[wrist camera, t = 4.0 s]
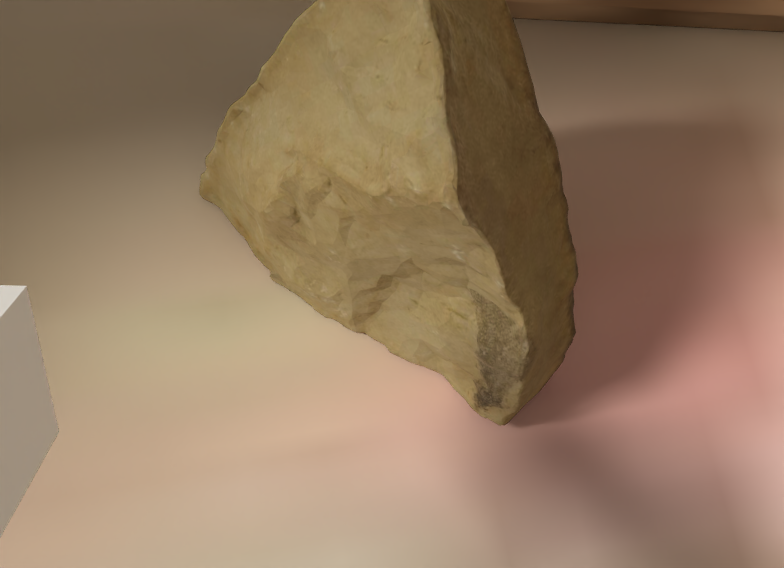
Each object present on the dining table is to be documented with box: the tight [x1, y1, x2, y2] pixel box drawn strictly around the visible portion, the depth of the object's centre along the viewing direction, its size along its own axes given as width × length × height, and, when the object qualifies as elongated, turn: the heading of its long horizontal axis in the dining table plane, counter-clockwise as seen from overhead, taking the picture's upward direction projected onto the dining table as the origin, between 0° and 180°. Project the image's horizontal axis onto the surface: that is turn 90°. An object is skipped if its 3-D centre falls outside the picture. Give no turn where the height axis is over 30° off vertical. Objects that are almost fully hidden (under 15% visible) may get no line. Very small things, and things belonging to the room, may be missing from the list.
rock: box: [199, 0, 578, 426], centre depth 17 cm, size 11×9×10 cm
